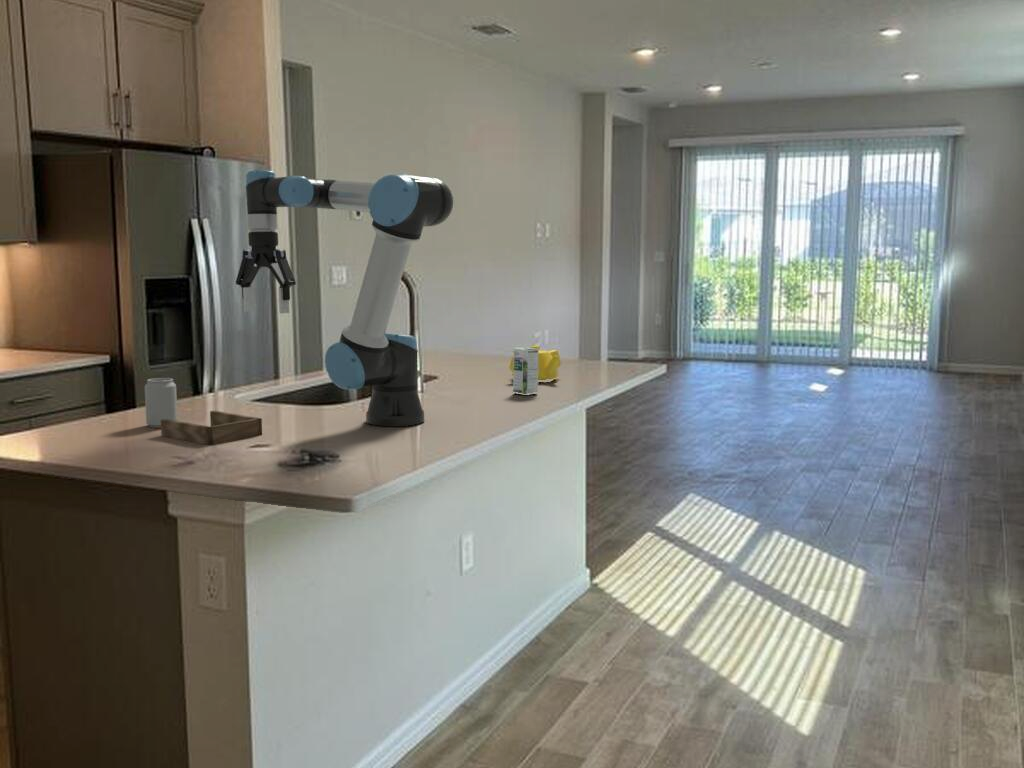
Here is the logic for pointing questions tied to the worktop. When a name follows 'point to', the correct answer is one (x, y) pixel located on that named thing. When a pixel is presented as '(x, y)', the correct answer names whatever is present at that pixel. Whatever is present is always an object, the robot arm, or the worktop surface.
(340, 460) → the worktop surface
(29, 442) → the worktop surface
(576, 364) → the worktop surface
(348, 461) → the worktop surface
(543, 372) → the teapot
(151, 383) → the can
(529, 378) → the syrup box
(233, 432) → the walnut box
